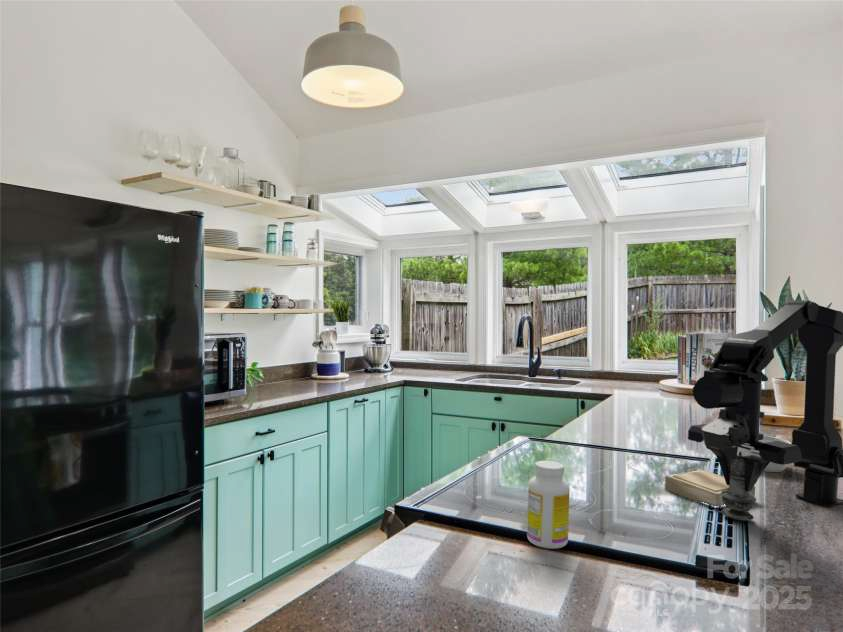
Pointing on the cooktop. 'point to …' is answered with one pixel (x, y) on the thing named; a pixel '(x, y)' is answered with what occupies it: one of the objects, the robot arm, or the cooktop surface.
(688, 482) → the soap dish
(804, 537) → the cooktop surface
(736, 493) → the salt shaker
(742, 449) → the ramekin
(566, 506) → the supplement bottle
